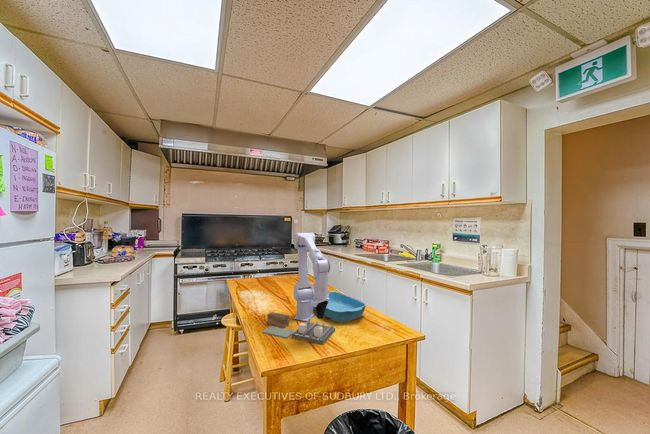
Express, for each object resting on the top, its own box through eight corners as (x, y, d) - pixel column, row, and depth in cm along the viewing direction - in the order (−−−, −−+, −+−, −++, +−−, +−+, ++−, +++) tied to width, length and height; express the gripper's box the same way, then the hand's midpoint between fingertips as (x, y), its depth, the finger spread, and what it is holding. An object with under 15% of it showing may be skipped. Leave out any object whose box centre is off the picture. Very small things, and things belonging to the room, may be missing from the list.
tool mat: (270, 327, 125) (270, 325, 125) (294, 332, 120) (294, 331, 120) (262, 332, 119) (262, 331, 119) (287, 338, 114) (287, 337, 114)
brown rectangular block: (271, 321, 132) (271, 311, 131) (288, 325, 127) (288, 315, 127) (267, 324, 128) (267, 314, 128) (284, 328, 124) (284, 317, 124)
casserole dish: (301, 306, 155) (301, 294, 155) (332, 299, 167) (332, 288, 167) (339, 329, 124) (340, 314, 124) (374, 319, 137) (374, 305, 137)
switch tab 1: (301, 330, 119) (301, 322, 119) (307, 331, 117) (307, 323, 117) (298, 332, 116) (298, 324, 116) (304, 333, 115) (304, 326, 115)
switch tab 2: (316, 333, 115) (316, 325, 115) (322, 334, 114) (322, 327, 114) (313, 336, 113) (313, 328, 113) (320, 337, 112) (320, 329, 112)
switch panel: (306, 325, 128) (306, 319, 128) (335, 330, 122) (335, 325, 122) (291, 337, 115) (291, 331, 115) (322, 344, 109) (322, 338, 109)
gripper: (322, 293, 107) (322, 326, 107) (335, 284, 120) (335, 314, 121) (307, 290, 110) (306, 323, 110) (321, 282, 123) (320, 311, 123)
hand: (320, 318), depth 116 cm, fingers closed
